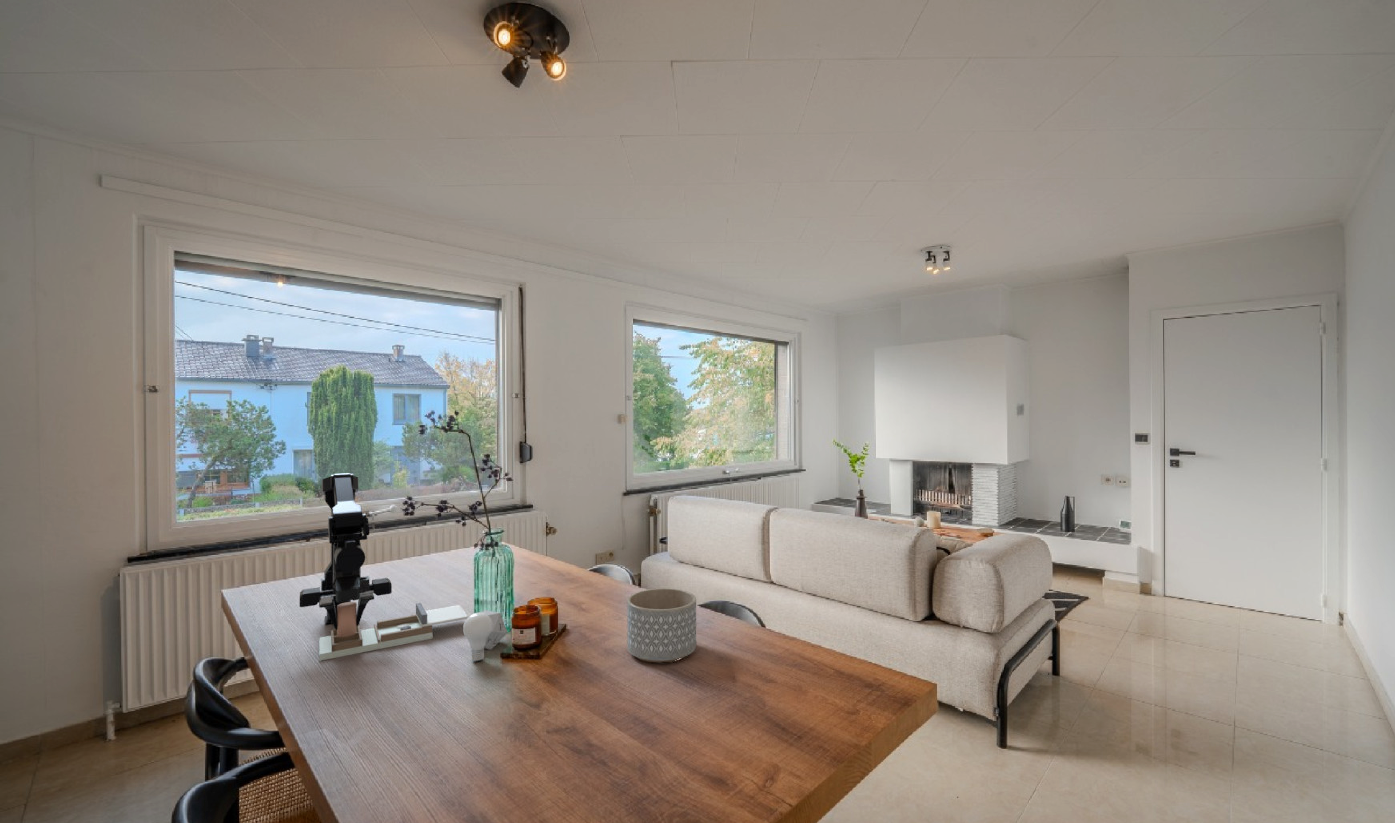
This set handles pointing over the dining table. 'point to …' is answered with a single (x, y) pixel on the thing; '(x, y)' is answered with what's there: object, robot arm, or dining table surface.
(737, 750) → the dining table surface
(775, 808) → the dining table surface
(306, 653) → the dining table surface
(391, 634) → the board
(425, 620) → the lid
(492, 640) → the die
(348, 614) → the tan brown cylinder
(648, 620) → the planter
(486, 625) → the lightbulb
